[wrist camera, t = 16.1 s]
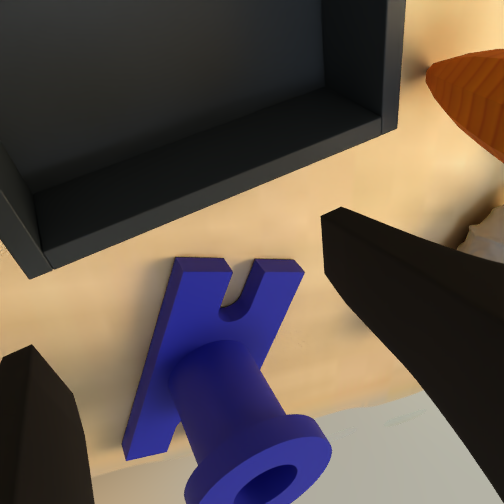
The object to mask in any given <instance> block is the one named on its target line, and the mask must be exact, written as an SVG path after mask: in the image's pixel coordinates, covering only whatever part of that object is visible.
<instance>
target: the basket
mask: <svg viewBox="0 0 504 504" xmlns="http://www.w3.org/2000/svg"><path fill="white" fill-rule="evenodd" d="M405 7H406V0H0V240H1V241H2V242H3V244H4V245H5V247H6V248H7V249H8V251H9V252H10V254H11V255H12V256H13V258H14V259H15V261H16V262H17V263H18V265H19V266H20V268H21V269H22V270H23V272H24V273H25V274H26V276H27V277H28V279H33V278H35V277H38V276H40V275H42V274H45V273H47V272H50V271H52V270H53V269H57V268H60V267H62V266H64V265H67V264H69V263H72V262H74V261H77V260H79V259H81V258H84V257H86V256H89V255H91V254H94V253H96V252H98V251H101V250H103V249H106V248H108V247H111V246H113V245H116V244H118V243H120V242H123V241H125V240H128V239H130V238H133V237H135V236H137V235H140V234H142V233H145V232H147V231H150V230H152V229H154V228H157V227H159V226H162V225H164V224H167V223H169V222H171V221H174V220H176V219H179V218H181V217H184V216H186V215H188V214H191V213H193V212H196V211H198V210H201V209H203V208H205V207H208V206H210V205H213V204H215V203H218V202H220V201H223V200H225V199H227V198H230V197H232V196H235V195H237V194H240V193H242V192H244V191H247V190H249V189H252V188H254V187H257V186H259V185H261V184H264V183H266V182H269V181H271V180H274V179H276V178H278V177H281V176H283V175H286V174H288V173H291V172H293V171H295V170H298V169H300V168H303V167H305V166H308V165H310V164H312V163H315V162H317V161H320V160H322V159H325V158H327V157H330V156H332V155H334V154H337V153H339V152H342V151H344V150H347V149H349V148H351V147H354V146H356V145H359V144H361V143H364V142H366V141H368V140H371V139H373V138H376V137H378V136H380V135H383V134H385V133H388V132H390V131H392V130H395V129H397V124H398V109H399V95H400V80H401V65H402V51H403V36H404V22H405Z"/></svg>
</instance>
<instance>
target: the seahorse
mask: <svg viewBox="0 0 504 504" xmlns="http://www.w3.org/2000/svg"><path fill="white" fill-rule="evenodd" d="M469 229H470V231H469V233H468V235H467V237H466V240H465V241H464V243H461V244H460V245H459V246H458V248H457V249H456V250H458V251H461V252H464V253H467V254H470V255H474V256H477V257H481V258H484V259H488V260H492V261H496V262H500V263H504V205H502V206H498V207H495V208H493V209H492V211H491V213H490V215H489V216H488V217H487V218H485V219H484V220H483V221H482V222H481V223H480V224H479V225H470V226H469Z"/></svg>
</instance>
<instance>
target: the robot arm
mask: <svg viewBox="0 0 504 504" xmlns="http://www.w3.org/2000/svg"><path fill="white" fill-rule="evenodd" d="M321 228H322V243H323V258H324V273H325V275H326V276H327V278H328V279H329V280H330V282H331V283H332V285H333V286H334V288H335V289H336V290H337V292H338V293H339V295H340V296H341V297H342V299H343V300H344V301H345V303H346V304H347V305H348V306H349V307H350V308H351V309H352V311H353V312H354V313H355V314H356V315H357V316H358V317H359V318H360V319H361V320H362V321H363V322H364V323H365V325H366V326H367V327H368V328H369V329H370V330H371V331H372V332H373V333H374V334H375V335H376V336H377V337H378V338H379V339H380V340H381V342H382V343H383V344H384V345H385V346H386V347H387V348H388V349H389V350H390V351H391V352H392V353H393V354H394V355H395V356H396V357H397V359H398V360H399V361H400V362H401V363H402V364H403V365H404V366H405V367H406V368H407V370H408V371H409V372H410V373H411V374H412V375H413V377H414V378H415V379H416V380H417V381H418V383H419V384H420V385H421V387H422V388H423V389H424V391H425V392H426V393H427V394H428V396H429V397H430V398H431V400H432V401H433V402H434V404H435V405H436V406H437V407H438V409H439V410H440V412H441V413H442V414H443V416H444V417H445V418H446V420H447V421H448V423H449V424H450V425H451V427H452V428H453V429H454V431H455V432H456V434H457V435H458V436H459V438H460V439H461V440H462V442H463V443H464V445H465V446H466V447H467V449H468V450H469V452H470V453H471V455H472V456H473V458H474V459H475V460H476V462H477V464H478V465H479V466H480V468H481V469H482V471H483V472H484V474H485V475H486V477H487V478H488V480H489V481H490V483H491V484H492V486H493V487H494V489H495V490H496V492H497V493H498V495H499V497H500V498H501V500H502V501H503V503H504V263H500V262H496V261H492V260H488V259H484V258H481V257H477V256H474V255H470V254H467V253H464V252H461V251H458V250H455V249H452V248H449V247H445V246H442V245H440V244H437V243H434V242H431V241H428V240H425V239H423V238H420V237H417V236H415V235H412V234H409V233H407V232H404V231H402V230H399V229H396V228H394V227H391V226H389V225H386V224H384V223H381V222H379V221H376V220H374V219H371V218H369V217H366V216H364V215H362V214H359V213H356V212H354V211H351V210H349V209H346V208H343V207H340V208H338V209H335V210H333V211H331V212H329V213H326V214H324V215H322V216H321ZM0 504H94V498H93V490H92V483H91V475H90V468H89V461H88V454H87V447H86V441H85V435H84V431H83V427H82V423H81V420H80V416H79V412H78V409H77V405H76V402H75V399H74V395H73V393H72V392H71V391H70V389H69V388H68V387H67V386H66V385H65V383H64V382H63V381H62V380H61V379H60V377H59V376H58V375H57V374H56V373H55V371H54V370H53V369H52V368H51V367H50V365H49V364H48V363H47V362H46V361H45V359H44V358H43V357H42V356H41V355H40V353H39V352H38V351H37V350H36V349H35V347H34V346H33V345H32V344H31V345H29V346H27V347H25V348H22V349H20V350H18V351H16V352H13V353H11V354H9V355H7V356H4V357H3V358H2V361H1V363H0Z"/></svg>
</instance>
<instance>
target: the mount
mask: <svg viewBox="0 0 504 504" xmlns="http://www.w3.org/2000/svg"><path fill="white" fill-rule="evenodd" d="M232 273H233V271H232V270H231V268H230V267H229V265H228V264H227V262H226V261H225V259H224V258H192V257H176V258H175V261H174V265H173V268H172V271H171V275H170V278H169V282H168V285H167V289H166V292H165V296H164V299H163V303H162V306H161V310H160V313H159V317H158V320H157V323H156V327H155V330H154V334H153V337H152V341H151V344H150V348H149V351H148V355H147V358H146V362H145V365H144V368H143V372H142V375H141V379H140V382H139V386H138V389H137V393H136V396H135V400H134V403H133V407H132V410H131V414H130V417H129V420H128V424H127V427H126V431H125V434H124V438H123V441H122V447H123V451H124V455H125V459H126V461H128V460H133V459H137V458H142V457H146V456H151V455H155V454H160V453H164V452H167V450H168V447H169V444H170V442H171V439H172V436H173V434H174V431H175V428H176V426H177V425H178V423H179V422H182V424H183V427H184V430H185V432H186V435H187V438H188V440H189V443H190V446H191V448H192V451H193V453H194V456H195V458H196V461H197V464H198V467H197V468H196V469H195V470H194V471H193V473H192V475H191V476H190V478H189V480H188V482H187V484H186V487H185V491H184V497H185V501H186V504H290V503H292V502H293V501H294V500H296V499H297V498H298V497H299V496H301V495H302V494H303V493H304V492H305V491H306V490H307V489H308V488H309V487H310V486H312V485H313V484H314V482H315V481H316V480H317V479H318V478H319V477H320V475H321V474H322V473H323V471H324V470H325V468H326V467H327V465H328V463H329V461H330V458H331V454H332V449H331V445H330V443H329V441H328V440H327V438H326V437H325V435H324V434H323V432H322V431H321V429H320V427H319V426H318V424H317V423H316V422H315V420H314V419H313V418H311V417H309V416H305V415H299V414H292V415H286V414H285V412H284V410H283V408H282V407H281V405H280V403H279V402H278V400H277V398H276V397H275V395H274V393H273V391H272V390H271V388H270V386H269V385H268V383H267V381H266V380H265V378H264V376H263V374H262V373H261V371H260V369H261V366H262V364H263V362H264V360H265V358H266V356H267V353H268V351H269V349H270V347H271V345H272V343H273V340H274V338H275V336H276V334H277V332H278V330H279V327H280V325H281V323H282V321H283V319H284V317H285V314H286V312H287V310H288V308H289V306H290V304H291V301H292V299H293V297H294V295H295V293H296V291H297V288H298V286H299V284H300V282H301V280H302V278H303V275H304V273H305V272H304V271H303V269H302V268H301V267H300V266H299V265H298V264H297V263H296V261H295V260H282V259H255V260H254V263H253V266H252V268H251V271H250V273H249V276H248V278H247V281H246V284H245V286H244V289H243V291H242V294H241V296H240V297H239V299H238V300H237V301H236V302H235V303H233V304H232V305H230V306H227V307H223V308H220V306H221V303H222V300H223V298H224V295H225V292H226V290H227V287H228V284H229V281H230V279H231V276H232Z"/></svg>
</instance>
